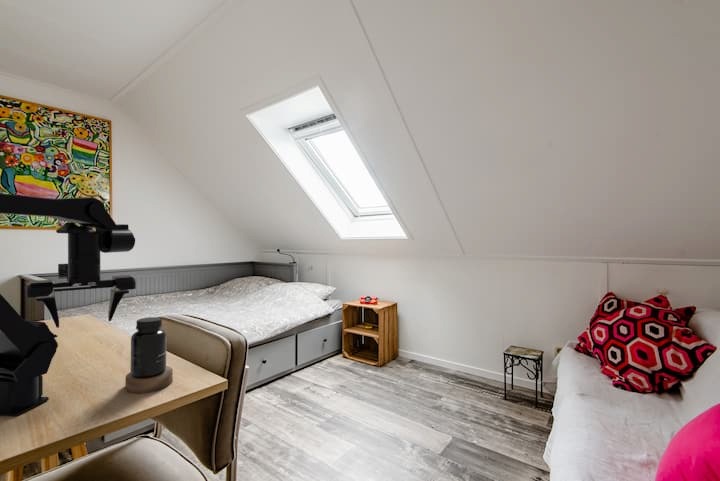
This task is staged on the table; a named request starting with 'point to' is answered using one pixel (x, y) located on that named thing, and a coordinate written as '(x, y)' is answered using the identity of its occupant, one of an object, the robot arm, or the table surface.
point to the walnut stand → (149, 382)
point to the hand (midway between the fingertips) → (84, 323)
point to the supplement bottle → (148, 349)
